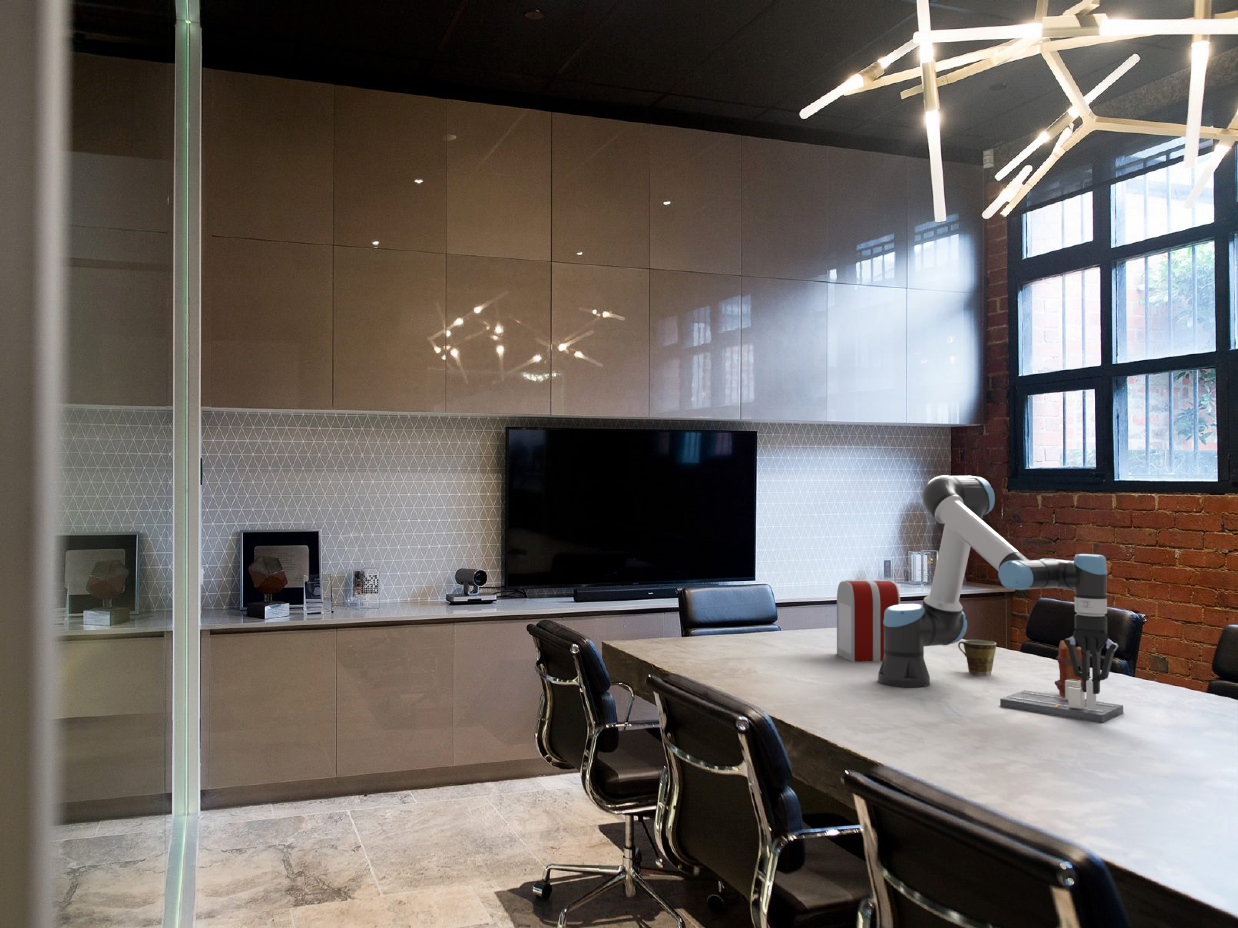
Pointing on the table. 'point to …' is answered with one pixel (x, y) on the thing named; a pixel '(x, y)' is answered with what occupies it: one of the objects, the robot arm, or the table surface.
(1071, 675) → the mug
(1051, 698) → the console
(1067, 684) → the fader far
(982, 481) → the robot arm
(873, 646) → the red striped block
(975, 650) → the ceramic cup
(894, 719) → the table surface
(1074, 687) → the fader near
